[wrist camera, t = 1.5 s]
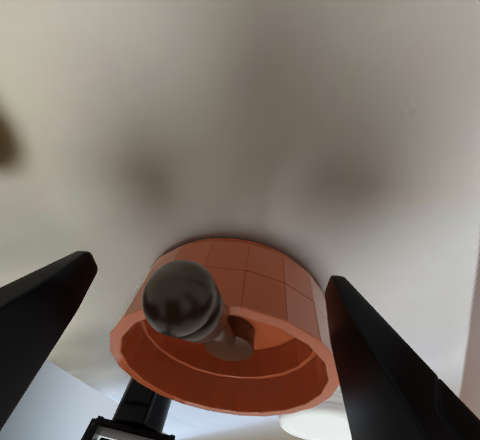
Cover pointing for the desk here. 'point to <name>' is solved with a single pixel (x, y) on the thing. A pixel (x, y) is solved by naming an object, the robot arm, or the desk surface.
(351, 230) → the desk surface
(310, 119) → the desk surface
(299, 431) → the white round lid
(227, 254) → the bowl
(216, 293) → the brown utensil
